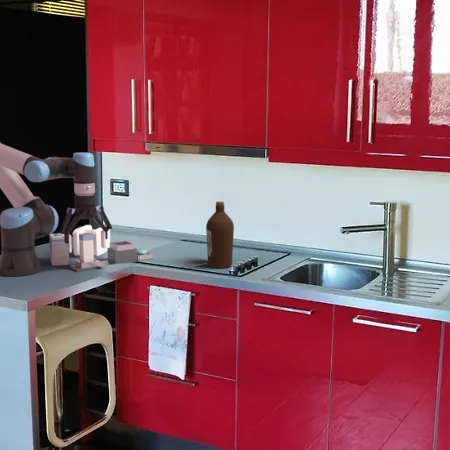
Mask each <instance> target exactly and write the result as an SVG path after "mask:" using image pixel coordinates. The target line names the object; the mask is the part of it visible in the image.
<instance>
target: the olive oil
mask: <svg viewBox="0 0 450 450" xmlns="http://www.w3.org/2000/svg"><path fill="white" fill-rule="evenodd" d="M205 230H206V231H205V233H206V248H207V249H206V250H207V252H206V254H207V266H208V267H209V268H211V269H221V270H222V269H228V268H231V267H232V266H233V251H234V235H235V234H234V231H235V225H234V222H233V220H232V218H231V217H230V216H229V215H228V214H227V213H226V211H225V201H222V200H221V201H220V200H219V201H216V202H215V212H214V213H213V214H212V215H211V216H210V217H209V218H208V220H207V222H206V225H205ZM231 265H232V266H231Z"/></svg>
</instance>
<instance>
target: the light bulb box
mask: <svg viewBox="0 0 450 450" xmlns="http://www.w3.org/2000/svg"><path fill="white" fill-rule="evenodd" d="M48 236H49V257H50V258H49V260H50V263H51V266H65V265H67V266H68V265H69V266H70V255H69V254H70V252H68V251H67V244H66V243H65V241H64V234H61V233H51V234H49V235H48Z"/></svg>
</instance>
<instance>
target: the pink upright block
mask: <svg viewBox="0 0 450 450" xmlns="http://www.w3.org/2000/svg"><path fill="white" fill-rule="evenodd" d="M79 245H80V255H79V259H80V262H82V263H85V262H92V261H94V258H95V256H94V247H93V234H91V233H83V234H79Z"/></svg>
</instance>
